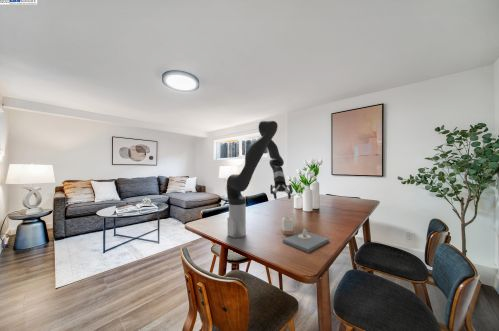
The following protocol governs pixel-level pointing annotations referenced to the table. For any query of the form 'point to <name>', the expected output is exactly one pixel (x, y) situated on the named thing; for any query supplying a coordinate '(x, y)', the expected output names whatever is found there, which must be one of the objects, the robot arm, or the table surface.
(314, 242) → the pin board
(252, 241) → the table surface
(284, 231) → the sleeve
